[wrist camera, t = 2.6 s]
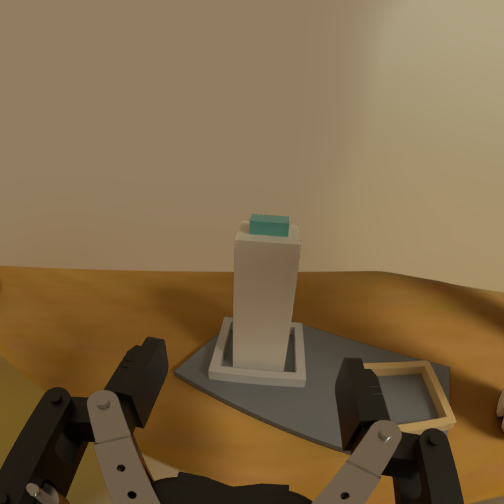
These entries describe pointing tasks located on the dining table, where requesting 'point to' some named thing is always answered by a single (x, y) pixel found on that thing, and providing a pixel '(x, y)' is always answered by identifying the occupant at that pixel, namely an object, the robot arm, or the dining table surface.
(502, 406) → the water bottle
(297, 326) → the panel
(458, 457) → the dining table surface
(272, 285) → the white tall box
